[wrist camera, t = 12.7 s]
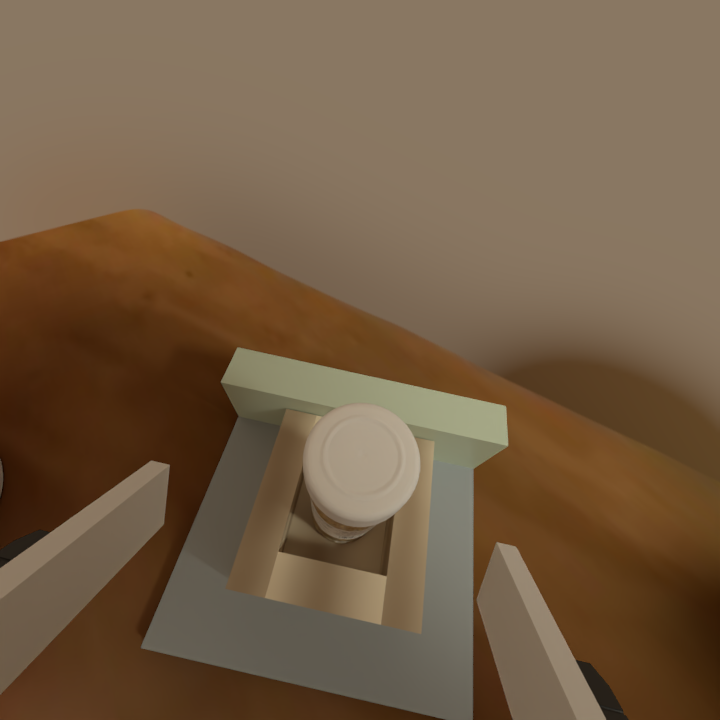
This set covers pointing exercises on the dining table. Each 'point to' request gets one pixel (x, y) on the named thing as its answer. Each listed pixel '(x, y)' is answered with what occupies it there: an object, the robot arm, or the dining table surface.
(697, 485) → the dining table surface
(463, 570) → the backstop board
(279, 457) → the socket block
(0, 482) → the utensil holder
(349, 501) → the sprinkles bottle
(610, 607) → the dining table surface
